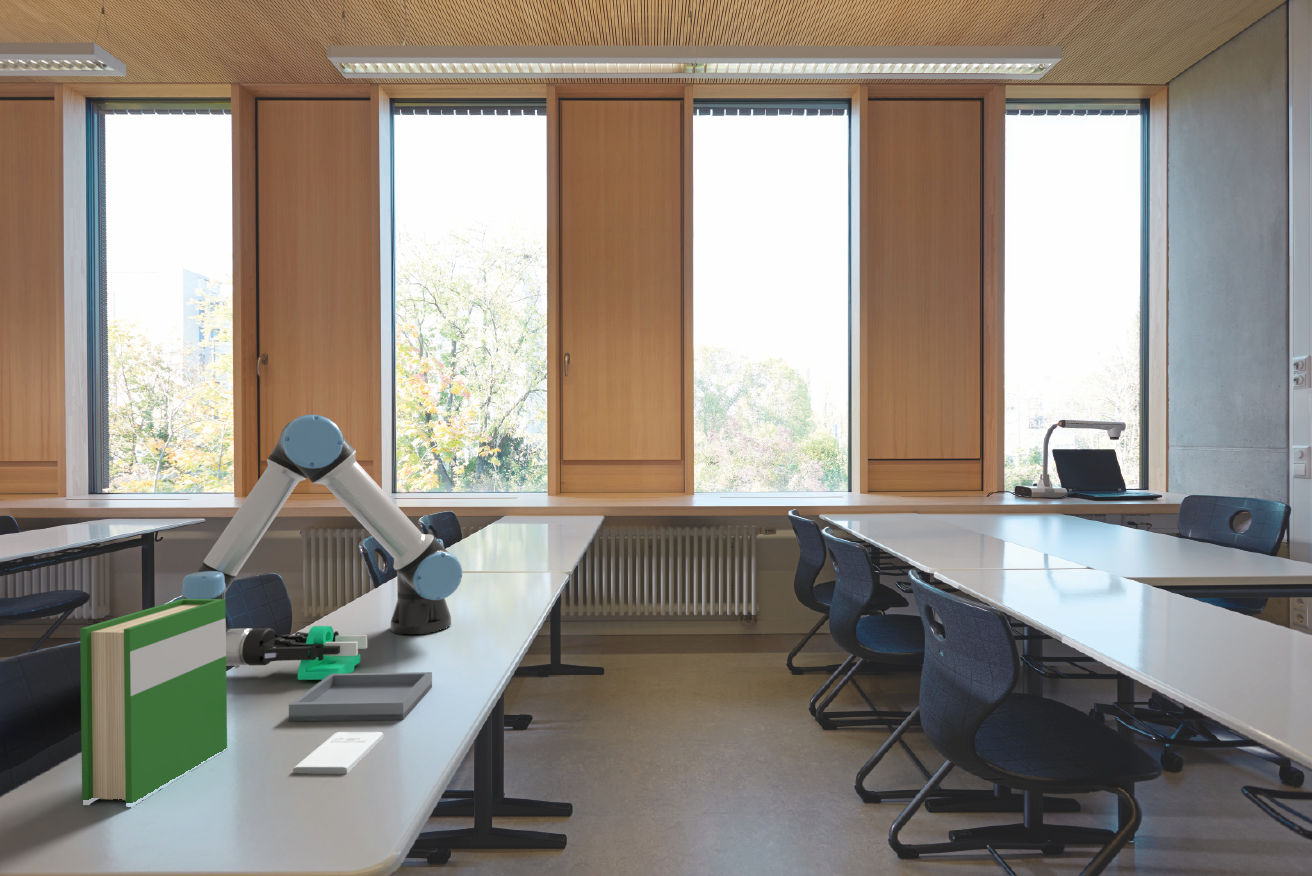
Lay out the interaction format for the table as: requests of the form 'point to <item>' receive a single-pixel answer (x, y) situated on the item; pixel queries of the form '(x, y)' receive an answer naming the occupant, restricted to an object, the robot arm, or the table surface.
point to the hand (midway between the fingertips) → (361, 645)
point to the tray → (361, 697)
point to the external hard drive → (339, 753)
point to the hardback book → (152, 697)
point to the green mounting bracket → (325, 658)
